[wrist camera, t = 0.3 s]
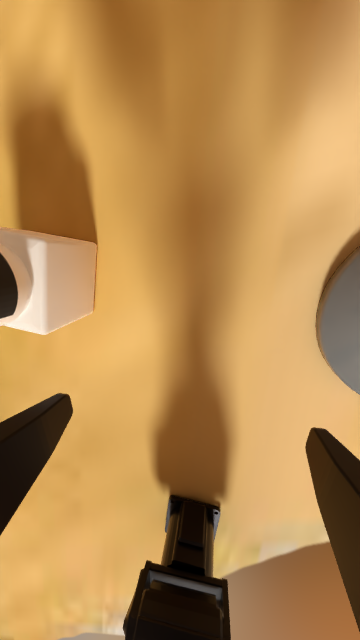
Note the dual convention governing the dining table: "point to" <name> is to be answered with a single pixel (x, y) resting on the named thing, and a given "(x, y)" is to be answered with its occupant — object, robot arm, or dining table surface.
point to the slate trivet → (342, 322)
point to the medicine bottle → (45, 280)
